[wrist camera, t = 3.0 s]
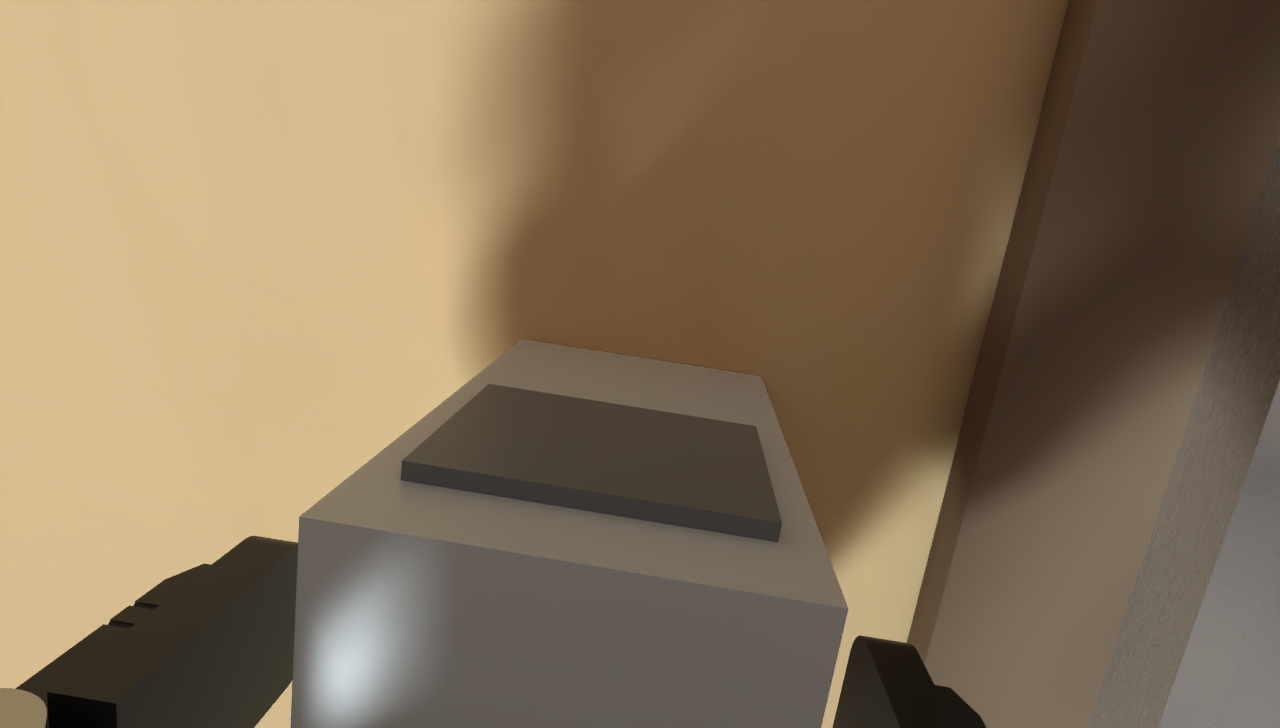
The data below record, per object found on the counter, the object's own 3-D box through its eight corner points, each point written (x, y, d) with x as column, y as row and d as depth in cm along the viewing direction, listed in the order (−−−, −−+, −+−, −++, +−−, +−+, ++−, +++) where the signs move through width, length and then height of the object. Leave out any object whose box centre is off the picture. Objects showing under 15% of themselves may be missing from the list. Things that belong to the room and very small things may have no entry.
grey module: (763, 365, 14) (853, 585, 6) (700, 701, 15) (706, 1228, 7) (523, 328, 14) (299, 493, 6) (487, 664, 15) (273, 1139, 8)
